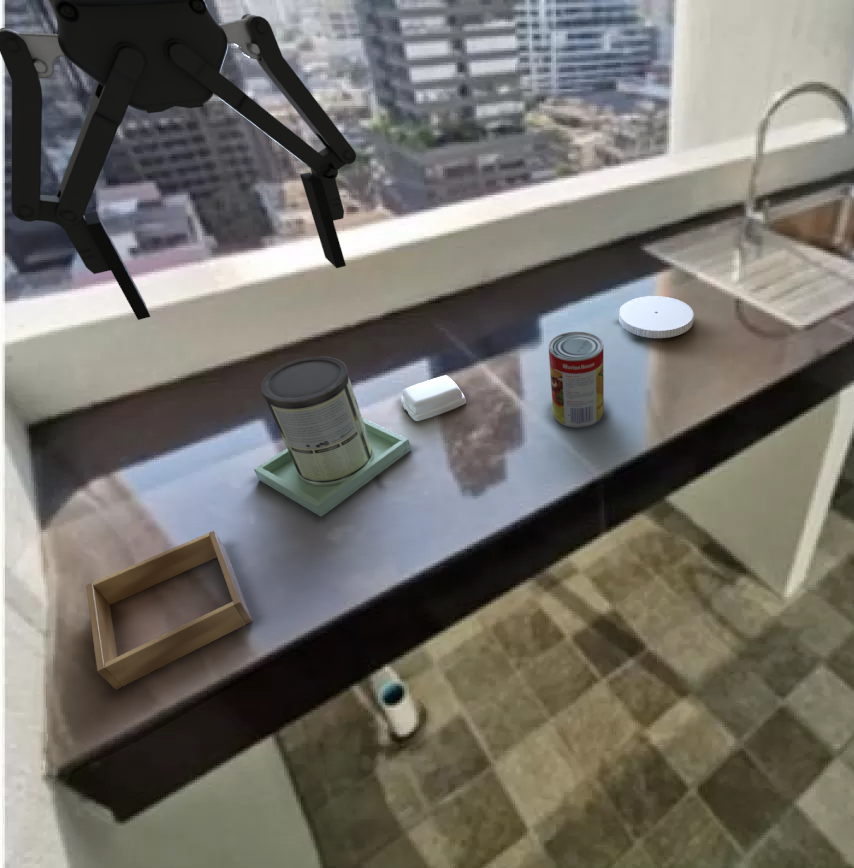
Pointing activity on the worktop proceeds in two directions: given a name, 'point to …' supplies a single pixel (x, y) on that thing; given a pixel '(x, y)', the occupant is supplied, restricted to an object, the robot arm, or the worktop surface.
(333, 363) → the coffee can
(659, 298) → the plastic lid
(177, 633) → the can stand
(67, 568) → the worktop surface
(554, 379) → the canned food
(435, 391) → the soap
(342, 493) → the tray
